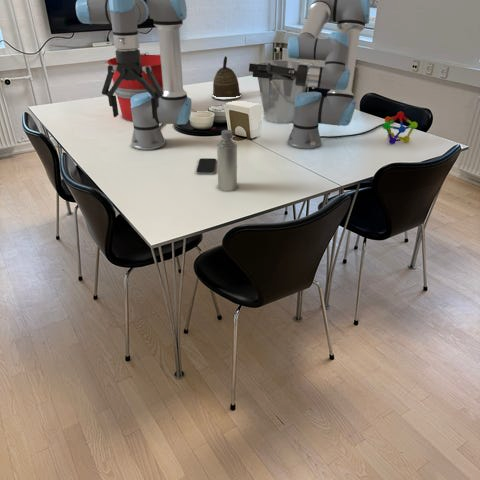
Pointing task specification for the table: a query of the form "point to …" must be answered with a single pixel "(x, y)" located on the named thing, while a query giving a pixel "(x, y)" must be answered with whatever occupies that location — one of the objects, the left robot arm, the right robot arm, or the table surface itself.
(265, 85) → the bucket
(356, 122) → the table surface
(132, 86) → the bucket
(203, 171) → the smartphone
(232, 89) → the bell
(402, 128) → the educational toy
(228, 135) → the cap
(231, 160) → the bottle
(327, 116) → the right robot arm
